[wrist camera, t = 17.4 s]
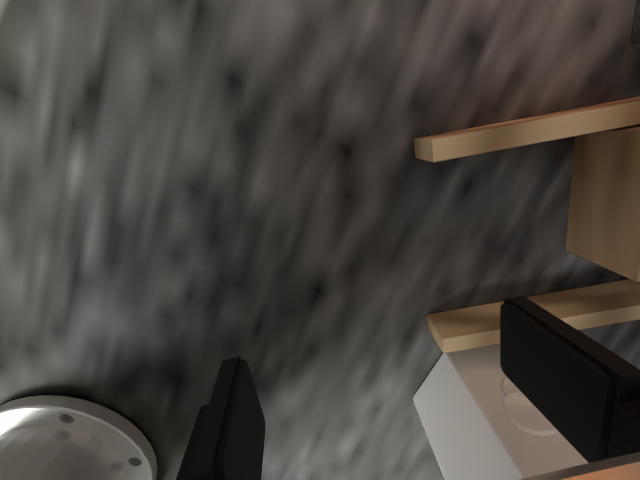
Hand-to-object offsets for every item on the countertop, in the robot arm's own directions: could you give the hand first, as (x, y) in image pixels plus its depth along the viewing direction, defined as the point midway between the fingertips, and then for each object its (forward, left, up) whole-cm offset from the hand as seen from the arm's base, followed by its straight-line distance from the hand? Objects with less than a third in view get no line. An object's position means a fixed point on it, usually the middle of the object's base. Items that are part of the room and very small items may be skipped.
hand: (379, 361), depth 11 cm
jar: (+7, -11, -8) cm, 16 cm away
